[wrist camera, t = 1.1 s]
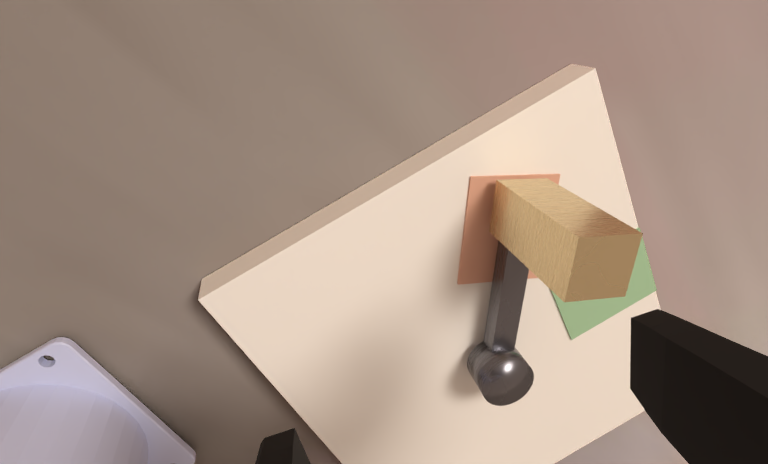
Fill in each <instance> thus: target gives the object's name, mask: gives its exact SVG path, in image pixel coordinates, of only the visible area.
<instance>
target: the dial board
mask: <svg viewBox="0 0 768 464" xmlns="http://www.w3.org/2000/svg"><path fill="white" fill-rule="evenodd" d="M536 178H548V179H549V180H551V181H553V182H554V183H556V184H558V185H560V186H561V187H563V188H565V189H567V190H568V191H570V192H572V193H574V194H575V195H577V196H579V197H580V198H582V199H584V200H586V201H587V202H589V203H591V204H593V205H594V206H596V207H598V208H600V209H601V210H603V211H605V212H606V213H608V214H610V215H612V216H613V217H615V218H617V219H619V220H620V221H622V222H624V223H626V224H627V225H629V226H631V227H632V228H634V229H636V230H638V231H639V232H641V230H640V228H638V224H637V220H636V217H635V213H634V209H633V206H632V202H631V198H630V194H629V191H628V187H627V183H626V180H625V176H624V172H623V169H622V165H621V161H620V157H619V154H618V150H617V146H616V143H615V139H614V135H613V132H612V128H611V124H610V120H609V117H608V113H607V109H606V106H605V102H604V98H603V95H602V91H601V87H600V83H599V80H598V76H597V72H596V69H595V68H591V67H586V66H580V65H574V64H570V65H568V66H566V67H565V68H563V69H561V70H560V71H558V72H556V73H554V74H553V75H551V76H549V77H548V78H546V79H544V80H542V81H541V82H539V83H537V84H536V85H534V86H532V87H530V88H529V89H527V90H525V91H524V92H522V93H520V94H518V95H517V96H515V97H513V98H512V99H510V100H508V101H506V102H505V103H503V104H501V105H500V106H498V107H496V108H494V109H493V110H491V111H489V112H488V113H486V114H484V115H482V116H481V117H479V118H477V119H476V120H474V121H472V122H470V123H469V124H467V125H465V126H464V127H462V128H460V129H458V130H457V131H455V132H453V133H452V134H450V135H448V136H446V137H445V138H443V139H441V140H440V141H438V142H436V143H434V144H433V145H431V146H429V147H427V148H426V149H424V150H422V151H421V152H419V153H417V154H415V155H414V156H412V157H410V158H409V159H407V160H405V161H403V162H402V163H400V164H398V165H397V166H395V167H393V168H391V169H390V170H388V171H386V172H385V173H383V174H381V175H379V176H378V177H376V178H374V179H373V180H371V181H369V182H367V183H366V184H364V185H362V186H361V187H359V188H357V189H355V190H354V191H352V192H350V193H349V194H347V195H345V196H343V197H342V198H340V199H338V200H337V201H335V202H333V203H331V204H330V205H328V206H326V207H325V208H323V209H321V210H319V211H318V212H316V213H314V214H313V215H311V216H309V217H307V218H306V219H304V220H302V221H301V222H299V223H297V224H295V225H294V226H292V227H290V228H289V229H287V230H285V231H283V232H282V233H280V234H278V235H277V236H275V237H273V238H271V239H270V240H268V241H266V242H265V243H263V244H261V245H259V246H258V247H256V248H254V249H252V250H251V251H249V252H247V253H246V254H244V255H242V256H240V257H239V258H237V259H235V260H234V261H232V262H230V263H228V264H227V265H225V266H223V267H222V268H220V269H218V270H216V271H215V272H213V273H211V274H210V275H208V276H206V277H204V278H203V279H202V281H201V286H200V292H199V297H198V300H199V302H200V303H201V304H202V305H203V306H204V307H205V308H206V310H207V311H208V312H209V313H210V314H211V315H212V316H213V318H214V319H215V320H216V321H217V322H218V323H219V324H220V325H221V327H222V328H223V329H224V330H225V331H226V332H227V333H228V335H229V336H230V337H231V338H232V339H233V340H234V341H235V343H236V344H237V345H238V346H239V347H240V348H241V349H242V350H243V352H244V353H245V354H246V355H247V356H248V357H249V358H250V360H251V361H252V362H253V363H254V364H255V365H256V366H257V368H258V369H259V370H260V371H261V372H262V373H263V374H264V375H265V377H266V378H267V379H268V380H269V381H270V382H271V383H272V385H273V386H274V387H275V388H276V389H277V390H278V391H279V393H280V394H281V395H282V396H283V397H284V398H285V399H286V400H287V402H288V403H289V404H290V405H291V406H292V407H293V408H294V410H295V411H296V412H297V413H298V414H299V415H300V416H301V418H302V419H303V420H304V421H305V422H306V423H307V424H308V425H309V427H310V428H311V429H312V430H313V431H314V432H315V433H316V435H317V436H318V437H319V438H320V439H321V440H322V441H323V443H324V444H325V445H326V446H327V447H328V448H329V449H330V450H331V452H332V453H333V454H334V455H335V456H336V457H337V458H338V460H339V461H340V462H341V463H342V464H554V463H556V462H558V461H559V460H561V459H563V458H565V457H566V456H568V455H570V454H571V453H573V452H575V451H576V450H578V449H580V448H582V447H583V446H585V445H587V444H588V443H590V442H592V441H594V440H595V439H597V438H599V437H600V436H602V435H604V434H606V433H607V432H609V431H611V430H612V429H614V428H616V427H617V426H619V425H621V424H623V423H624V422H626V421H628V420H629V419H631V418H633V417H635V416H636V415H638V414H640V413H641V412H643V411H645V409H644V408H643V407H642V405H641V404H640V402H639V401H638V399H637V398H636V396H635V395H634V393H633V392H632V391H631V389H630V349H631V317H635V316H638V315H641V314H644V313H647V312H650V311H653V310H656V309H659V310H661V309H660V305H659V302H658V298H657V294H656V286H655V282H654V278H653V275H652V271H651V267H650V263H649V260H648V256H647V252H646V249H645V245H644V241H643V237H642V239H641V242H640V246H639V249H638V253H637V256H636V260H635V264H634V267H633V271H632V274H631V278H630V282H629V285H628V289H627V292H626V296H625V297H615V298H605V299H595V300H584V301H574V302H563V301H562V300H561V299H560V298H559V297H558V296H557V295H556V294H555V293H554V292H553V291H552V290H551V289H550V288H548V287H547V286H546V285H545V284H544V283H543V282H542V281H541V280H540V279H539V278H538V277H537V276H536V275H535V274H534V273H533V272H531V271H530V270H529V273H528V278H527V284H526V289H525V294H524V300H523V305H522V311H521V316H520V322H519V327H518V332H517V338H516V343H515V348H516V349H517V350H518V352H519V353H520V354H521V355H522V357H523V358H524V359H525V361H526V362H527V363H528V364H529V366H530V367H531V368H532V370H533V373H534V381H533V384H532V386H531V388H530V390H529V391H528V392H527V394H526V395H525V396H523V397H522V398H521V399H520V400H518V401H516V402H514V403H512V404H509V405H505V406H496V405H492V404H490V403H489V402H487V401H486V399H485V398H484V396H483V395H482V393H481V391H480V390H479V388H478V386H477V385H476V383H475V381H474V380H473V378H472V376H471V375H470V373H469V371H468V368H467V360H468V357H469V355H470V353H471V351H472V350H473V349H474V348H475V347H476V346H477V345H478V344H479V343H481V342H482V341H483V339H484V333H485V326H486V320H487V313H488V307H489V300H490V293H491V287H492V280H493V274H494V267H495V261H496V254H497V248H498V241H499V240H497V239H496V238H495V237H494V236H493V235H492V234H491V233H490V232H489V228H490V221H491V214H492V207H493V200H494V193H495V186H496V180H504V179H536Z"/></svg>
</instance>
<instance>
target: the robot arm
mask: <svg viewBox="0 0 768 464" xmlns="http://www.w3.org/2000/svg"><path fill="white" fill-rule="evenodd" d="M45 355H47V356H51V357H53V358H54V359H55V360H53V361H51V360H47V359H45V358H44V357H43V356H45ZM630 389H631V391H632V392H633V393H634V395H635V396H636V398H637V399H638V401H639V402H640V404H641V405H642V407H643V408H644V409H645V411H646V412H647V414H648V415H649V416H650V418H651V419H652V420H653V422H654V423H655V425H656V426H657V427H658V429H659V430H660V431H661V433H662V434H663V435H664V436H665V437H666V438H667V440H668V441H669V442H670V443H671V444H672V445H673V446H674V448H675V449H676V450H677V451H678V452H679V453H680V454H681V455H682V456H683V458H684V459H685V460H686V461H687V462H688V463H689V464H768V356H766V355H763V354H761V353H758V352H756V351H754V350H752V349H749V348H747V347H745V346H742V345H740V344H738V343H735V342H733V341H731V340H729V339H726V338H724V337H722V336H719V335H717V334H715V333H713V332H710V331H708V330H706V329H704V328H701V327H699V326H697V325H695V324H692V323H690V322H688V321H685V320H683V319H681V318H679V317H676V316H674V315H671V314H669V313H667V312H664V311H662V310H659V309H656V310H653V311H650V312H647V313H644V314H641V315H638V316H635V317H631V349H630ZM195 459H196V452H195V451H194V450H193V449H192V448H191V447H190V446H189V445H188V444H187V443H186V442H185V441H183V440H182V439H181V438H180V437H179V436H178V435H177V434H176V433H175V432H173V431H172V430H171V429H170V428H169V427H168V426H167V425H166V424H165V423H164V422H162V421H161V420H160V419H159V418H158V417H157V416H156V415H155V414H154V413H152V412H151V411H150V410H149V409H148V408H147V407H146V406H145V405H144V404H143V403H141V402H140V401H139V400H138V399H137V398H136V397H135V396H134V395H133V394H131V393H130V392H129V391H128V390H127V389H126V388H125V387H124V386H123V385H122V384H120V383H119V382H118V381H117V380H116V379H115V378H114V377H113V376H112V375H110V374H109V373H108V372H107V371H106V370H105V369H104V368H103V367H102V366H101V365H99V364H98V363H97V362H96V361H95V360H94V359H93V358H92V357H91V356H89V355H88V354H87V353H86V352H85V351H84V350H83V349H82V348H81V347H80V346H78V345H77V344H76V343H75V342H74V341H72V340H71V339H69V338H65V337H57V338H54V339H52V340H50V341H48V342H47V343H45V344H43V345H41V346H40V347H38V348H36V349H35V350H33V351H31V352H29V353H28V354H26V355H24V356H23V357H21V358H19V359H17V360H16V361H14V362H12V363H11V364H9V365H7V366H5V367H4V368H2V369H0V464H194V463H195ZM255 464H310V461H309V459H308V457H307V455H306V452H305V450H304V448H303V446H302V444H301V441H300V439H299V437H298V435H297V432H296V430H295V428H294V429H291V430H288V431H285V432H282V433H279V434H275V435H272V436H269V437H266V438H264V440H263V441H262V443H261V445H260V449H259V453H258V456H257V460H256V463H255Z"/></svg>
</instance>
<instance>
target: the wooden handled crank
mask: <svg viewBox="0 0 768 464" xmlns="http://www.w3.org/2000/svg"><path fill="white" fill-rule="evenodd" d="M489 232H490V233H491V234H492V235H493V236H494V237H495V238H496V239H497V240H499V241H498V248H497V254H496V261H495V267H494V274H493V280H492V287H491V293H490V300H489V307H488V313H487V320H486V326H485V333H484V339H483V341H482V342H481V343H479V344H478V345H477V346H476V347H475V348H474V349H473V350H472V351H471V353H470V355H469V357H468V360H467V368H468V371H469V373H470V375H471V376H472V378H473V380H474V381H475V383H476V385H477V386H478V388H479V390H480V391H481V393H482V395H483V396H484V398H485V399H486V401H487V402H489V403H490V404H492V405H496V406H505V405H509V404H512V403H514V402H516V401H518V400H520V399H521V398H522V397H523V396H525V395H526V394H527V392H528V391H529V390H530V388H531V386H532V384H533V381H534V373H533V370H532V368H531V367H530V366H529V364H528V363H527V362H526V361H525V359H524V358H523V357H522V355H521V354H520V353H519V352H518V350H517V349H516V348H515V343H516V338H517V332H518V327H519V322H520V316H521V311H522V305H523V300H524V294H525V289H526V284H527V278H528V273H529V270H530V271H531V272H533V273H534V274H535V275H536V276H537V277H538V278H539V279H540V280H541V281H542V282H543V283H544V284H545V285H546V286H547V287H548V288H550V289H551V290H552V291H553V292H554V293H555V294H556V295H557V296H558V297H559V298H560V299H561V300H562V301H563V302H574V301H584V300H595V299H605V298H615V297H625V296H626V292H627V289H628V285H629V282H630V278H631V274H632V271H633V267H634V264H635V260H636V256H637V253H638V249H639V246H640V242H641V239H642V235H643V233H641V232H639V231H638V230H636V229H634V228H632V227H631V226H629V225H627V224H626V223H624V222H622V221H620V220H619V219H617V218H615V217H613V216H612V215H610V214H608V213H606V212H605V211H603V210H601V209H600V208H598V207H596V206H594V205H593V204H591V203H589V202H587V201H586V200H584V199H582V198H580V197H579V196H577V195H575V194H574V193H572V192H570V191H568V190H567V189H565V188H563V187H561V186H560V185H558V184H556V183H554V182H553V181H551V180H549V179H548V178H536V179H504V180H496V186H495V193H494V200H493V207H492V214H491V221H490V228H489Z"/></svg>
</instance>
